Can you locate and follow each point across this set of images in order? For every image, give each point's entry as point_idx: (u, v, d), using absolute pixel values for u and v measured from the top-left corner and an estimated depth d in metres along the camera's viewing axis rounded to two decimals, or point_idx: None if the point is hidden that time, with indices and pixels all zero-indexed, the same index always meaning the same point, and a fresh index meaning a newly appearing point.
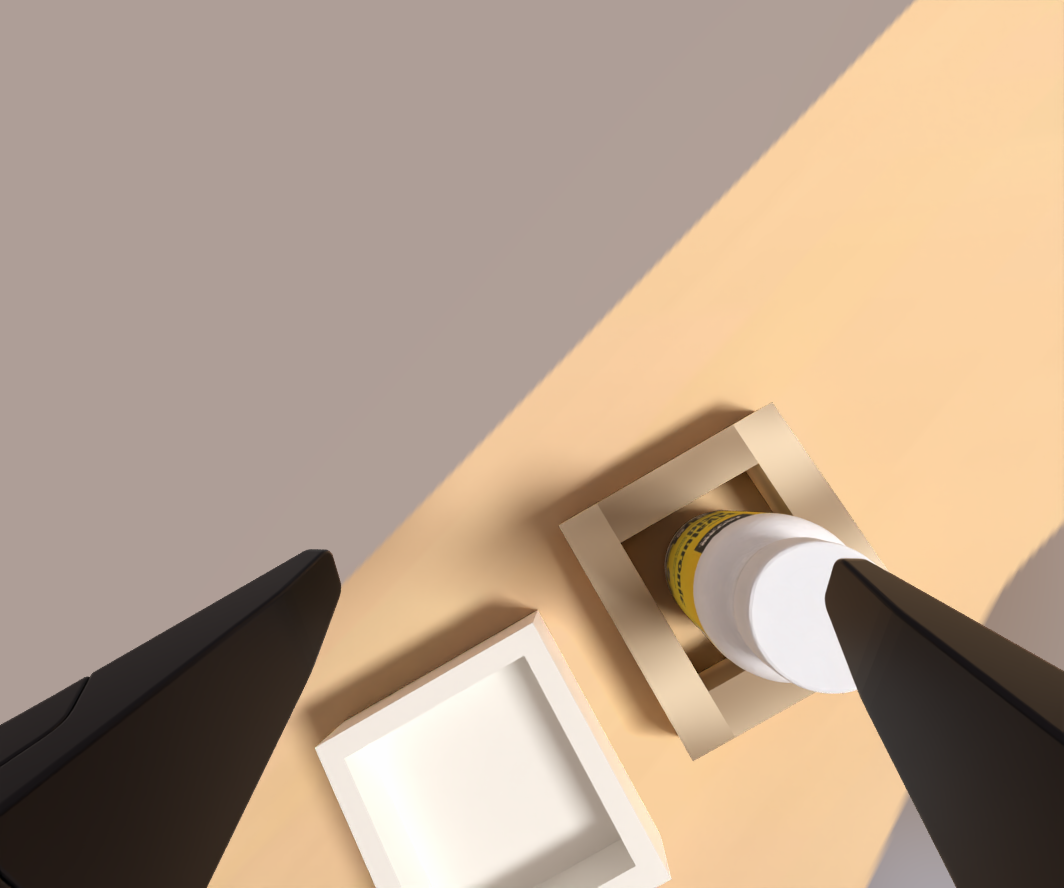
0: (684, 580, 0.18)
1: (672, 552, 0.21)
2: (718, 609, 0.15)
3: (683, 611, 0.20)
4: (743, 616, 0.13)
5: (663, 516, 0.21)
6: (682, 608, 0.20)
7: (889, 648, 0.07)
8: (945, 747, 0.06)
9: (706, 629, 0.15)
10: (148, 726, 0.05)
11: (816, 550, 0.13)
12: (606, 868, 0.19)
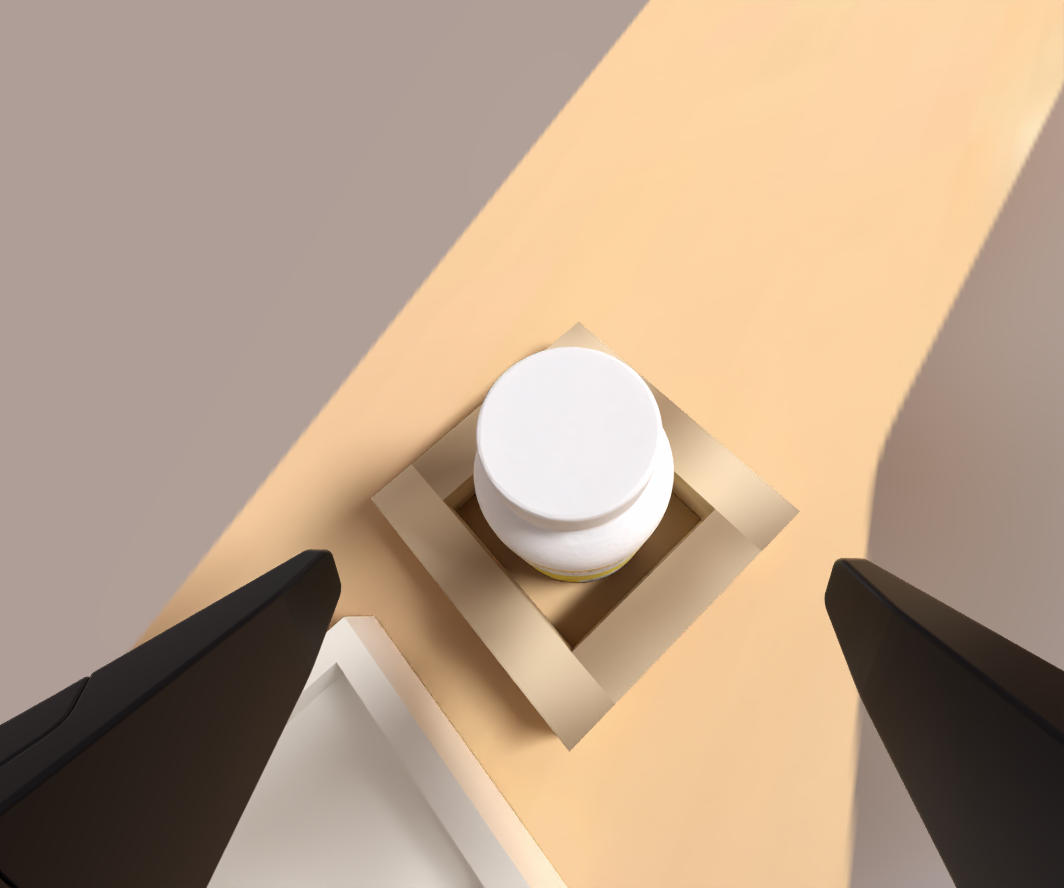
0: None
1: None
2: (490, 491, 0.12)
3: None
4: (479, 458, 0.10)
5: None
6: None
7: (889, 648, 0.07)
8: (945, 747, 0.06)
9: (491, 527, 0.12)
10: (148, 726, 0.05)
11: (544, 358, 0.11)
12: None
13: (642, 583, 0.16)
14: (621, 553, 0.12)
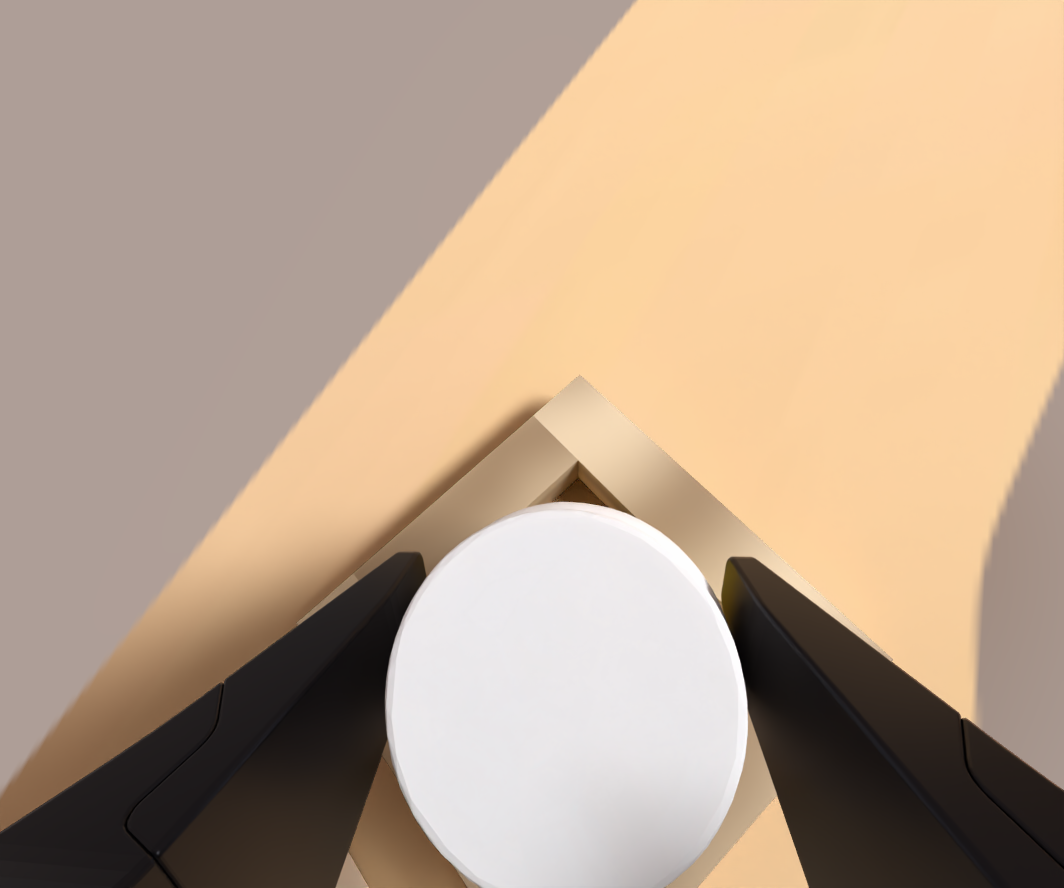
0: None
1: None
2: None
3: None
4: (394, 733, 0.05)
5: None
6: None
7: (758, 643, 0.07)
8: (794, 739, 0.06)
9: None
10: (292, 734, 0.05)
11: (517, 533, 0.06)
12: None
13: None
14: None
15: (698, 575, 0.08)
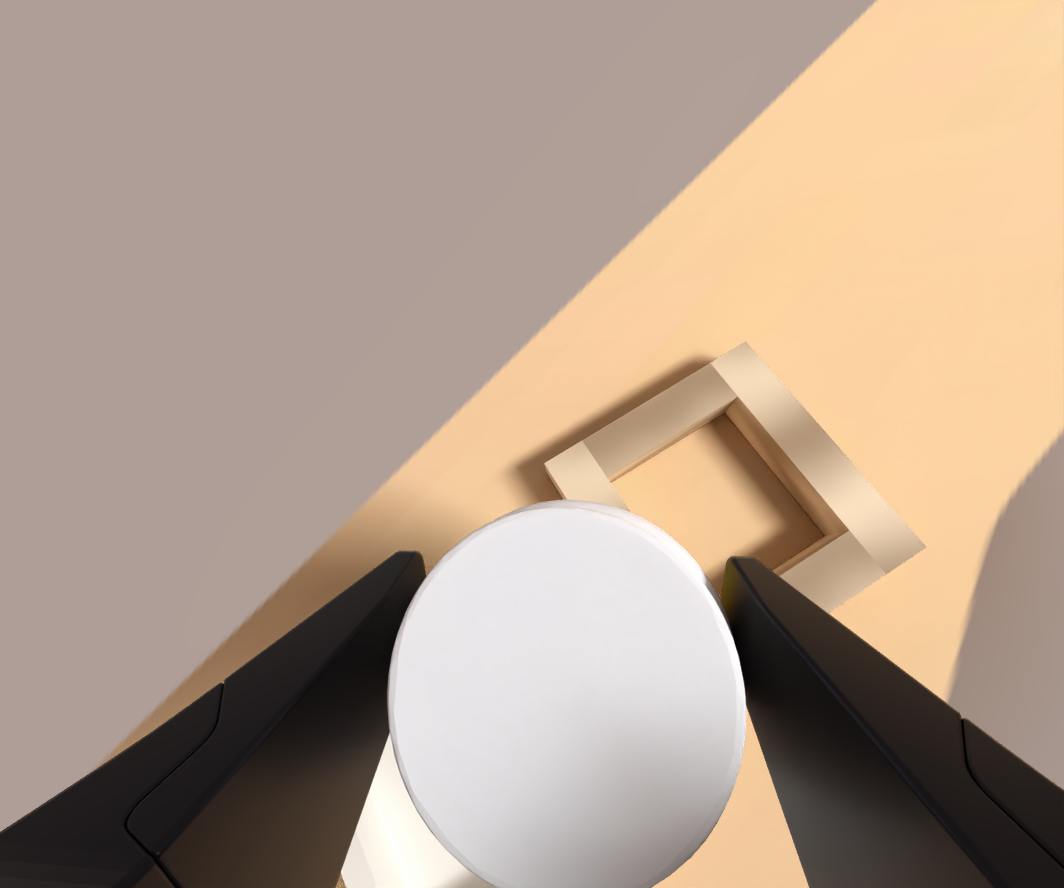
0: None
1: None
2: None
3: None
4: (396, 727, 0.05)
5: (648, 449, 0.21)
6: None
7: (758, 644, 0.07)
8: (794, 739, 0.06)
9: None
10: (292, 735, 0.05)
11: (518, 530, 0.06)
12: None
13: None
14: None
15: (699, 572, 0.08)
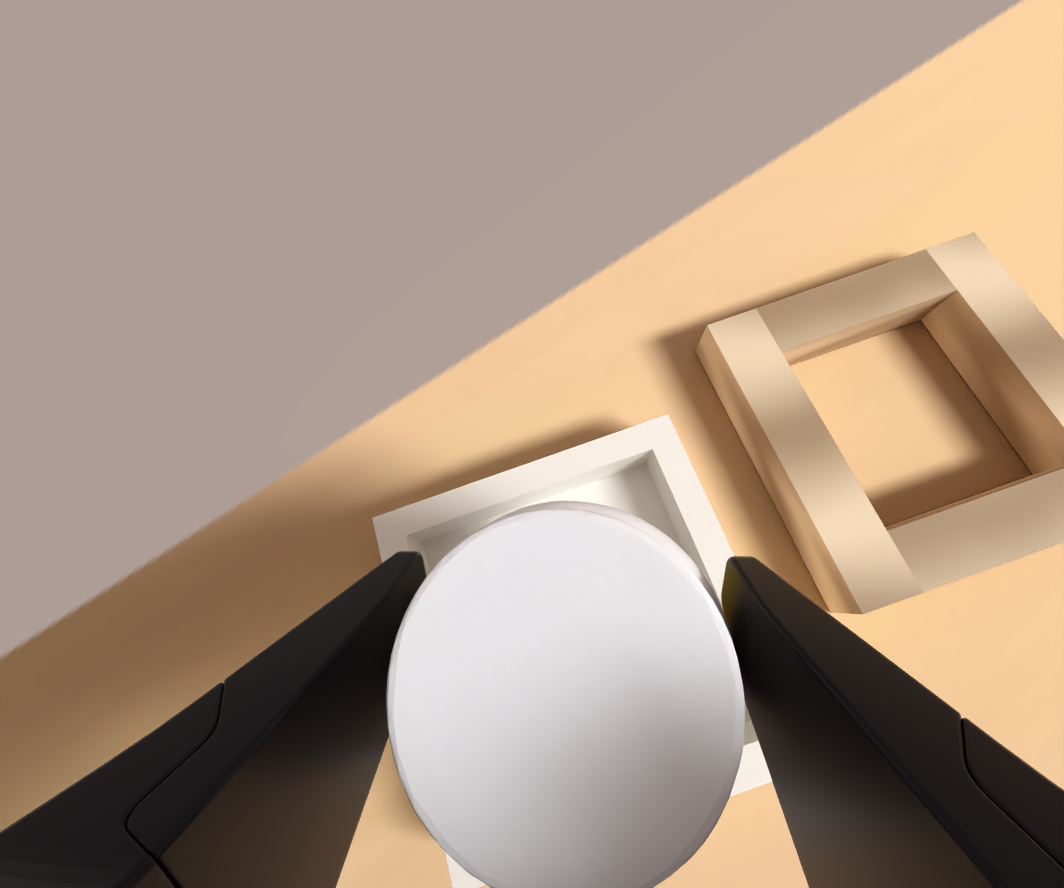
0: None
1: None
2: None
3: None
4: (395, 729, 0.05)
5: (836, 330, 0.18)
6: None
7: (758, 643, 0.07)
8: (794, 739, 0.06)
9: None
10: (292, 734, 0.05)
11: (517, 532, 0.06)
12: None
13: (982, 498, 0.15)
14: None
15: (698, 573, 0.08)
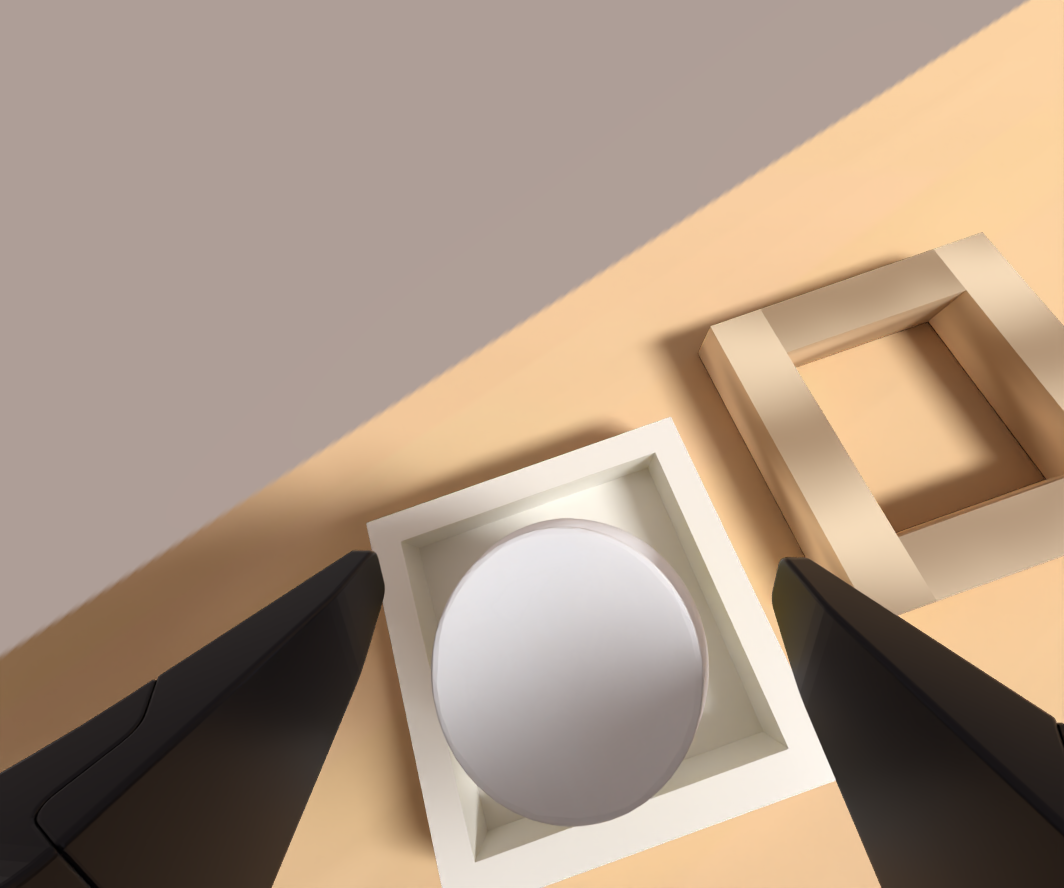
0: None
1: None
2: None
3: None
4: (437, 697, 0.07)
5: (843, 331, 0.17)
6: None
7: (822, 646, 0.07)
8: (868, 743, 0.06)
9: None
10: (220, 730, 0.05)
11: (531, 545, 0.07)
12: (735, 756, 0.13)
13: (996, 503, 0.15)
14: None
15: (677, 579, 0.09)
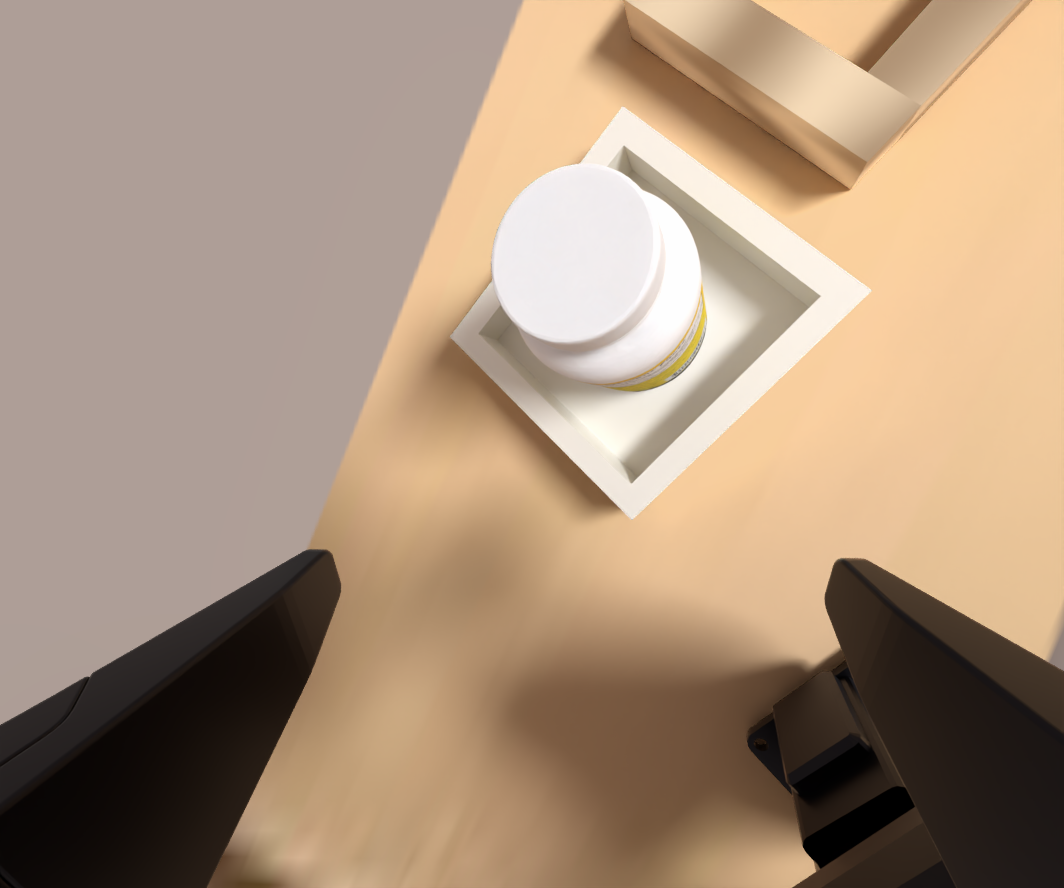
0: None
1: None
2: (543, 345, 0.13)
3: None
4: (515, 323, 0.11)
5: None
6: None
7: (889, 648, 0.07)
8: (945, 747, 0.06)
9: None
10: (148, 726, 0.05)
11: (519, 206, 0.11)
12: None
13: None
14: (676, 334, 0.12)
15: (644, 192, 0.12)
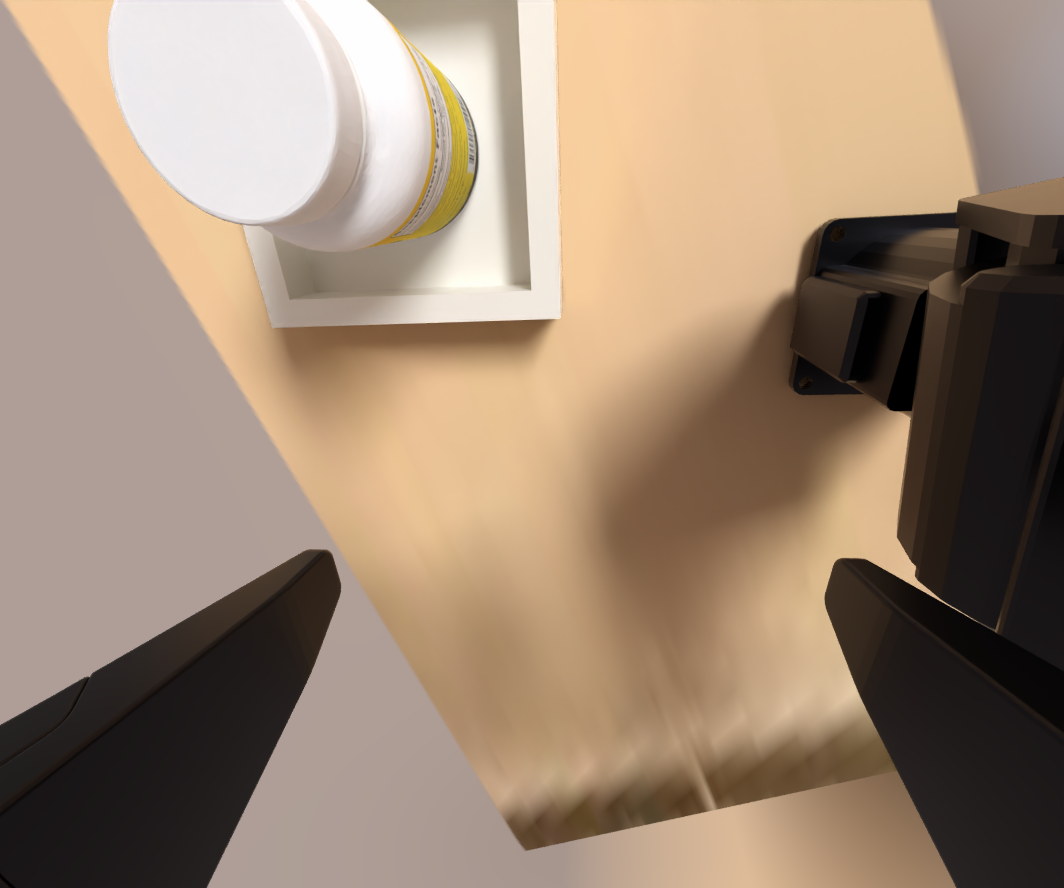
0: None
1: None
2: (321, 232, 0.11)
3: (441, 225, 0.16)
4: (262, 225, 0.09)
5: None
6: (428, 231, 0.16)
7: (889, 648, 0.07)
8: (945, 747, 0.06)
9: (365, 244, 0.12)
10: (148, 726, 0.05)
11: (126, 99, 0.08)
12: None
13: None
14: (413, 94, 0.10)
15: None
